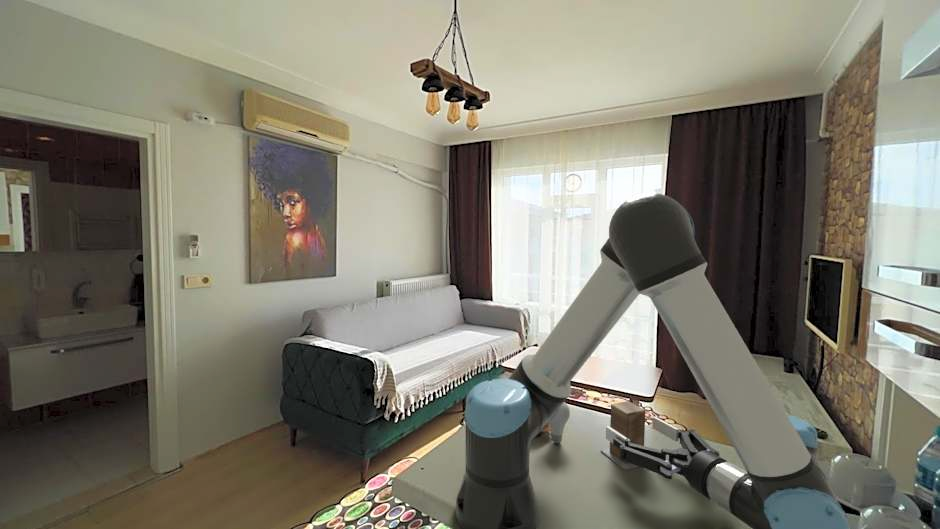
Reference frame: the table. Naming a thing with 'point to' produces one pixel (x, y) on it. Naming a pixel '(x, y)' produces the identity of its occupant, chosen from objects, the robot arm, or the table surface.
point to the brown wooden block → (627, 424)
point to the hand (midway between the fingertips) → (630, 427)
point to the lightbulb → (559, 423)
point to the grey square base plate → (618, 460)
